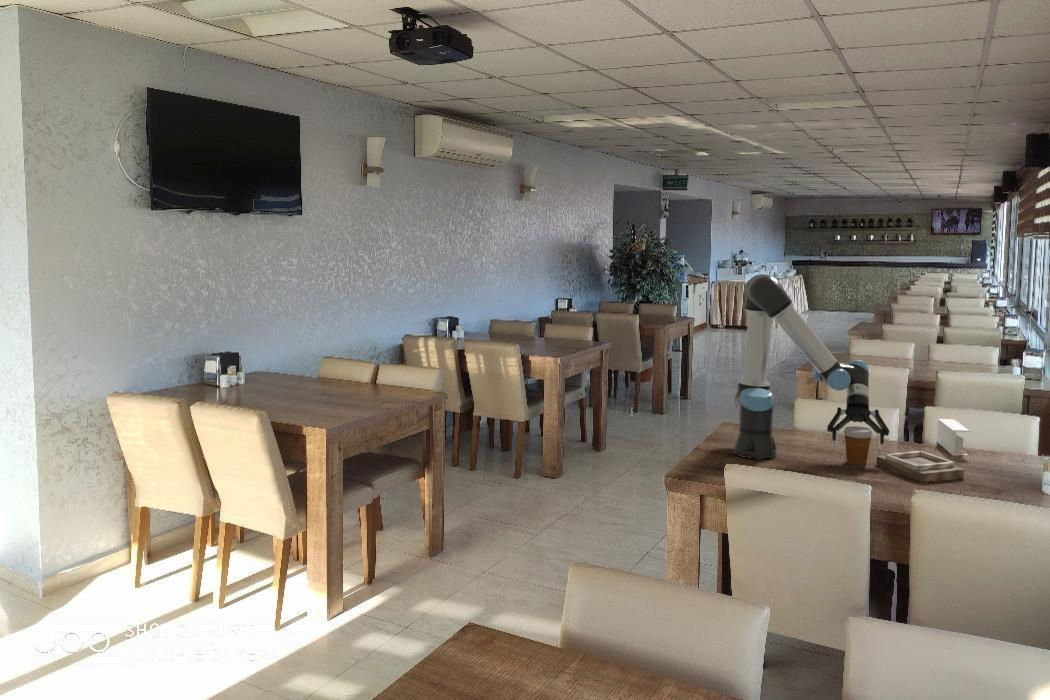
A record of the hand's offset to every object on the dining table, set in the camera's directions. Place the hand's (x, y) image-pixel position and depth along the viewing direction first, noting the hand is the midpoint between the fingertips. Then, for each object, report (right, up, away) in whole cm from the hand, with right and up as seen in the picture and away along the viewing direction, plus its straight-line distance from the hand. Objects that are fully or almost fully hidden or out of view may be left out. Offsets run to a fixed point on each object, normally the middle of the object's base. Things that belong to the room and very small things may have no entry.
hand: (857, 449), depth 286 cm
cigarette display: (+43, -2, +20) cm, 48 cm away
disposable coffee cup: (+1, -5, +2) cm, 6 cm away
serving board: (+17, -6, -8) cm, 20 cm away
